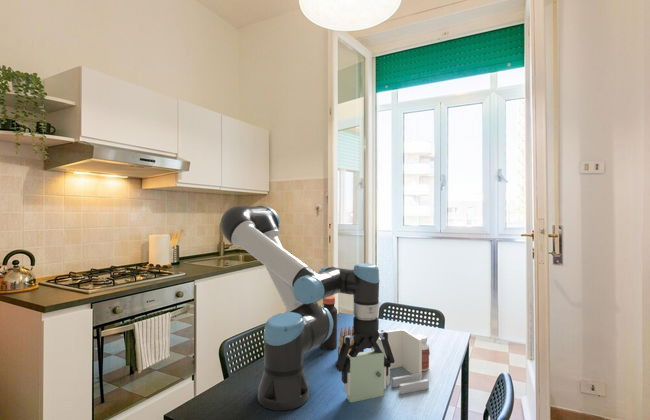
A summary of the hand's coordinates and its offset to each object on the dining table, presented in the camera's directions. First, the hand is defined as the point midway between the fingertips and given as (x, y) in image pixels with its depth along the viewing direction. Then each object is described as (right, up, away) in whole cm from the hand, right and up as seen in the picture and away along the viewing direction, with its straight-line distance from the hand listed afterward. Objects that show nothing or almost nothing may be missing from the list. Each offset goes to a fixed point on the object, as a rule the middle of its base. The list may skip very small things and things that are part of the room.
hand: (365, 389), depth 103 cm
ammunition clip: (-2, -2, +27) cm, 27 cm away
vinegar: (-11, -2, +37) cm, 39 cm away
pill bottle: (+22, -2, +19) cm, 29 cm away
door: (0, -2, 0) cm, 2 cm away
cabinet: (+13, -2, +11) cm, 17 cm away
